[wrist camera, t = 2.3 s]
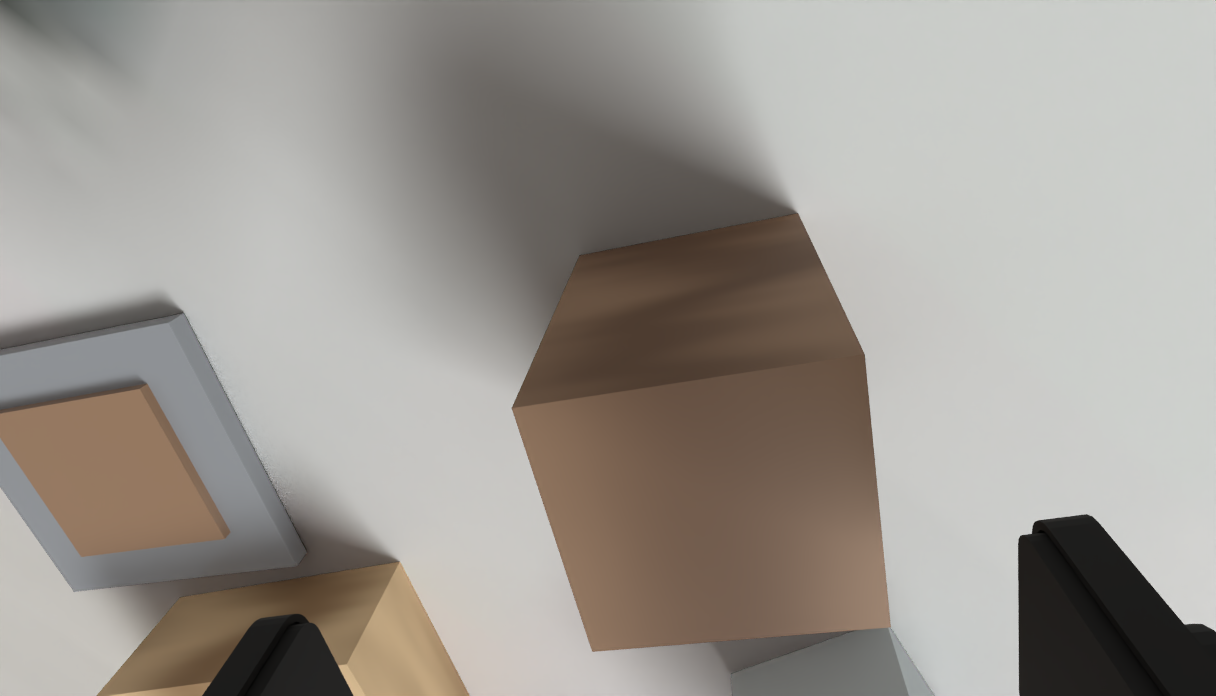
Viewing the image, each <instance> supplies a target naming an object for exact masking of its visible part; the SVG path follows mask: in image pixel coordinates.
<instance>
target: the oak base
mask: <svg viewBox="0 0 1216 696" xmlns="http://www.w3.org/2000/svg"><path fill="white" fill-rule="evenodd" d="M289 614H301V615H303V616H305V617H306V619H307V620H308V621H309V623H314V624H315V625H316V626H317V627H318V628H319V630H320V632H321V634H322V636H323V638H324V639H325V641H326V643H327V645H328V647H329V649H330V651H331V653H332V655H333V657H334V659H335V661H336V663H337V665H338V667H339V668H340V670H341V672H342V674H343V676H344V678H345V680H346V682H347V684H348V686H349V688H350V690H351V692H352V694H353V695H354V696H470V695H469V694H468V692H467V690H466V688H465V686H464V684H463V682H462V680H461V678H460V676H459V674H458V672H457V670H456V669H455V667H454V665H453V663H452V661H451V659H450V657H449V655H448V653H447V651H446V649H445V647H444V645H443V644H442V642H441V640H440V638H439V636H438V634H437V632H436V630H435V628H434V626H433V624H432V622H431V620H430V619H429V617H428V615H427V613H426V611H425V609H424V607H423V605H422V603H421V601H420V599H419V597H418V595H417V594H416V592H415V590H414V588H413V586H412V584H411V582H410V580H409V578H408V576H407V574H406V572H405V570H404V568H403V567H402V565H401V563H400V562H395V563H388V564H382V565H376V566H370V567H364V568H358V569H352V570H345V571H339V572H333V573H327V574H321V575H315V576H308V577H302V578H296V579H290V580H284V581H278V582H272V583H265V584H259V585H253V586H247V587H241V588H235V589H228V590H222V591H216V592H210V593H204V594H198V595H192V596H185V597H180V598H179V599H178V601H177V602H176V603H175V604H174V605H173V606H172V608H171V609H170V610H169V611H168V612H167V613H166V615H165V616H164V617H163V618H162V619H161V621H160V622H159V623H158V624H157V625H156V626H155V628H154V629H153V630H152V631H151V632H150V633H149V635H148V636H147V637H146V638H145V639H144V641H143V642H142V643H141V644H140V645H139V646H138V648H137V649H136V650H135V651H134V652H133V653H132V655H131V656H130V657H129V658H128V659H127V661H126V662H125V663H124V664H123V665H122V666H121V668H120V669H119V670H118V671H117V672H116V673H115V675H114V676H113V677H112V678H111V679H110V681H109V682H108V683H107V684H106V685H105V686H104V688H103V689H102V690H101V691H100V692H99V693H98V695H97V696H202V695H203V694H204V692H205V691H206V689H207V688H208V686H209V685H210V683H211V682H212V681H213V679H214V678H215V676H216V675H217V673H218V672H219V670H220V669H221V668H222V666H223V665H224V663H225V662H226V660H227V659H228V657H229V656H230V654H231V653H232V652H233V650H234V649H235V647H236V646H237V644H238V643H239V641H240V640H241V639H242V637H243V636H244V634H245V633H246V631H247V630H248V628H249V627H250V626H251V625H252V624H253V623H254V622H255V621H256V620H258V619H260V618H265V617H273V616H281V615H289Z"/></svg>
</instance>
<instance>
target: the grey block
mask: <svg viewBox="0 0 1216 696" xmlns="http://www.w3.org/2000/svg"><path fill="white" fill-rule="evenodd" d="M731 687H732V696H935V695H934V694H933V692H932V691H931V689H930V688H929V686H928V685H927V683H926V681H925V680H924V678H923V677H922V675H921V674H920V672H919V671H918V669H917V668H916V666H915V664H914V663H913V661H912V660H911V658H910V657H909V655H908V654H907V652H906V650H905V649H904V647H903V646H902V644H901V643H900V641H899V640H898V638H897V636H896V635H895V633H894V632H893V630H892V629H891V627H889V628H877V629H865V630H855V631H852V632H849V633H847V634H844V635H841V636H838V637H835V638H832V639H829V640H826V641H824V642H821V643H818V644H815V645H812V646H809V647H806V648H803V649H801V650H798V651H795V652H792V653H789V654H786V655H783V656H781V657H778V658H775V659H772V660H769V661H766V662H763V663H760V664H758V665H755V666H752V667H749V668H746V669H743V670H740V671H737V672H735V673H732V674H731Z"/></svg>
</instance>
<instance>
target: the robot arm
mask: <svg viewBox="0 0 1216 696" xmlns="http://www.w3.org/2000/svg"><path fill="white" fill-rule="evenodd" d="M1018 580H1019V694H1020V696H1216V632H1215V631H1214V630H1212V629H1210V628H1208V627H1207V626H1205V625H1203V624H1187V625H1184V624H1183V623H1182V621H1181V620H1180V619H1179V618H1178V617H1177V615H1176V614H1175V613H1174V612H1173V611H1172V609H1171V608H1170V607H1169V606H1168V605H1167V604H1166V602H1165V601H1164V600H1163V599H1162V598H1161V596H1160V595H1159V594H1158V593H1157V592H1156V590H1155V589H1154V588H1153V587H1152V586H1151V584H1150V583H1149V582H1148V581H1147V580H1146V579H1145V577H1144V576H1143V575H1142V574H1141V573H1140V571H1139V570H1138V569H1137V568H1136V567H1135V565H1134V564H1133V563H1132V562H1131V561H1130V559H1129V558H1128V557H1127V556H1126V555H1125V553H1124V552H1123V551H1122V550H1121V549H1120V548H1119V546H1118V545H1117V544H1116V543H1115V542H1114V540H1113V539H1112V538H1111V537H1110V536H1109V534H1108V533H1107V532H1106V531H1105V530H1104V528H1103V527H1102V526H1101V525H1100V524H1099V522H1097V521H1096V520H1095V519H1094V518H1093V517H1092V516H1089V515H1087V514H1086V515H1078V516H1070V517H1062V518H1054V519H1046V520H1039V521H1036V522H1035V523H1034V525H1033V529H1032V534H1028V535H1022V536H1020V538H1019V543H1018ZM202 696H354V695H353V694H352V692H351V690H350V688H349V686H348V684H347V682H346V680H345V678H344V676H343V674H342V672H341V670H340V668H339V667H338V665H337V663H336V661H335V659H334V657H333V655H332V653H331V651H330V649H329V647H328V645H327V643H326V641H325V639H324V638H323V636H322V634H321V632H320V630H319V628H318V627H317V626H316V625H315V624H314V623H309V621H308V620H307V619H306V617H305V616H303V615H301V614H289V615H281V616H273V617H265V618H260V619H258V620H256V621H255V622H254V623H253V624H252V625H251V626H250V627H249V628H248V630H247V631H246V633H245V634H244V636H243V637H242V639H241V640H240V641H239V643H238V644H237V646H236V647H235V649H234V650H233V652H232V653H231V654H230V656H229V657H228V659H227V660H226V662H225V663H224V665H223V666H222V668H221V669H220V670H219V672H218V673H217V675H216V676H215V678H214V679H213V681H212V682H211V683H210V685H209V686H208V688H207V689H206V691H205V692H204V694H203V695H202Z"/></svg>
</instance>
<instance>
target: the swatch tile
mask: <svg viewBox="0 0 1216 696" xmlns="http://www.w3.org/2000/svg"><path fill="white" fill-rule="evenodd" d="M0 487H1V489H2V490H3V492H4V493H5V494H6V496H7V497H8V499H9V500H10V501H11V503H12V504H13V506H14V507H15V509H16V510H17V511H18V513H19V514H20V516H21V517H22V519H23V520H24V521H25V523H26V524H27V526H28V527H29V528H30V530H31V531H32V533H33V534H34V536H35V537H36V538H37V540H38V541H39V543H40V544H41V546H42V547H43V548H44V550H45V551H46V553H47V554H48V555H49V557H50V558H51V560H52V561H53V563H54V564H55V565H56V567H57V568H58V570H59V571H60V573H61V574H62V575H63V577H64V578H65V580H66V581H67V582H68V584H69V585H70V587H71V588H72V590H73V591H74V592H76V591H85V590H94V589H103V588H111V587H120V586H129V585H138V584H146V583H155V582H164V581H172V580H181V579H190V578H199V577H207V576H216V575H225V574H234V573H242V572H251V571H260V570H269V569H277V568H286V567H295V566H298V564H299V563H300V561H301V560H302V558H303V557H304V556H305V554H306V553H307V552H306V550H305V548H304V546H303V544H302V542H301V540H300V538H299V536H298V534H297V532H296V530H295V528H294V526H293V524H292V522H291V520H290V519H289V517H288V515H287V513H286V511H285V509H284V507H283V505H282V503H281V501H280V499H279V497H278V495H277V493H276V491H275V489H274V487H273V485H272V484H271V482H270V480H269V478H268V476H267V474H266V472H265V470H264V468H263V466H262V464H261V462H260V460H259V458H258V456H257V454H256V452H255V450H254V449H253V447H252V445H251V443H250V441H249V439H248V437H247V435H246V433H245V431H244V429H243V427H242V425H241V423H240V421H239V419H238V417H237V415H236V414H235V412H234V410H233V408H232V406H231V404H230V402H229V400H228V398H227V396H226V394H225V392H224V390H223V388H222V386H221V384H220V382H219V380H218V379H217V377H216V375H215V373H214V371H213V369H212V367H211V365H210V363H209V361H208V359H207V357H206V355H205V353H204V351H203V349H202V347H201V346H200V344H199V342H198V340H197V338H196V336H195V334H194V332H193V330H192V328H191V326H190V324H189V322H188V320H187V318H186V316H185V314H184V313H182V314H177V315H172V316H167V317H162V318H157V319H152V320H147V321H142V322H137V323H132V324H127V325H122V326H117V327H112V328H107V329H102V330H97V331H92V332H87V333H82V334H76V335H71V336H66V337H61V338H56V339H51V340H46V341H41V342H36V343H31V344H26V345H21V346H16V347H11V348H6V349H1V350H0Z"/></svg>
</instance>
